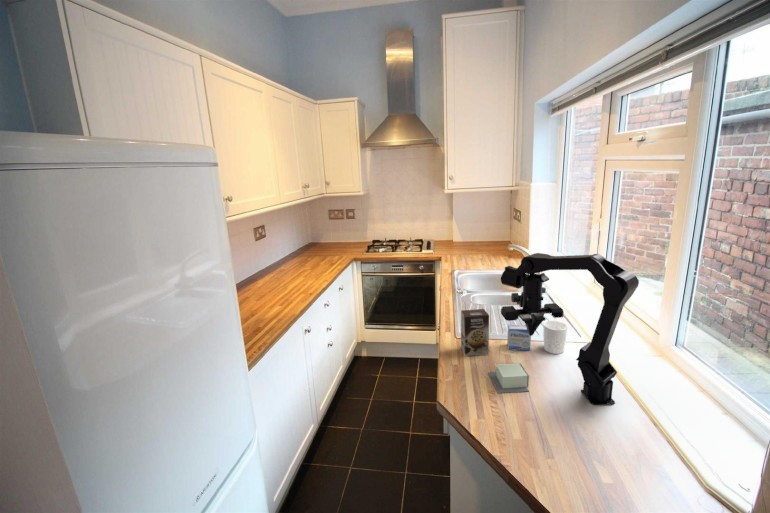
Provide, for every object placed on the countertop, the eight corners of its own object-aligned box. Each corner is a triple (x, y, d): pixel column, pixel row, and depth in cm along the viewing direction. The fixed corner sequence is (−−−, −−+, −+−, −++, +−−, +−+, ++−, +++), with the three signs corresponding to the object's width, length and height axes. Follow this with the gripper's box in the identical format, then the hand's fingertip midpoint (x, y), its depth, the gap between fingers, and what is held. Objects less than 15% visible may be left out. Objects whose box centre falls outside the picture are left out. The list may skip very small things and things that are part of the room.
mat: (516, 371, 119) (516, 370, 119) (528, 391, 108) (528, 390, 108) (488, 373, 119) (488, 372, 119) (498, 393, 109) (498, 392, 109)
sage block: (520, 363, 116) (496, 364, 116) (528, 375, 109) (503, 377, 109) (520, 373, 117) (496, 375, 117) (528, 386, 110) (502, 388, 110)
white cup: (543, 342, 136) (544, 319, 133) (566, 346, 132) (568, 322, 129) (540, 352, 130) (542, 327, 127) (564, 357, 126) (566, 331, 123)
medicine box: (508, 349, 133) (508, 329, 131) (507, 344, 137) (507, 323, 135) (530, 351, 131) (531, 330, 129) (528, 345, 135) (529, 324, 133)
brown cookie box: (465, 356, 130) (464, 316, 126) (460, 348, 136) (460, 309, 132) (489, 354, 130) (489, 314, 126) (484, 346, 137) (484, 307, 132)
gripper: (549, 281, 122) (547, 322, 126) (496, 285, 122) (495, 326, 126) (565, 293, 111) (562, 337, 115) (506, 297, 112) (505, 341, 116)
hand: (530, 335), depth 118 cm, fingers closed
